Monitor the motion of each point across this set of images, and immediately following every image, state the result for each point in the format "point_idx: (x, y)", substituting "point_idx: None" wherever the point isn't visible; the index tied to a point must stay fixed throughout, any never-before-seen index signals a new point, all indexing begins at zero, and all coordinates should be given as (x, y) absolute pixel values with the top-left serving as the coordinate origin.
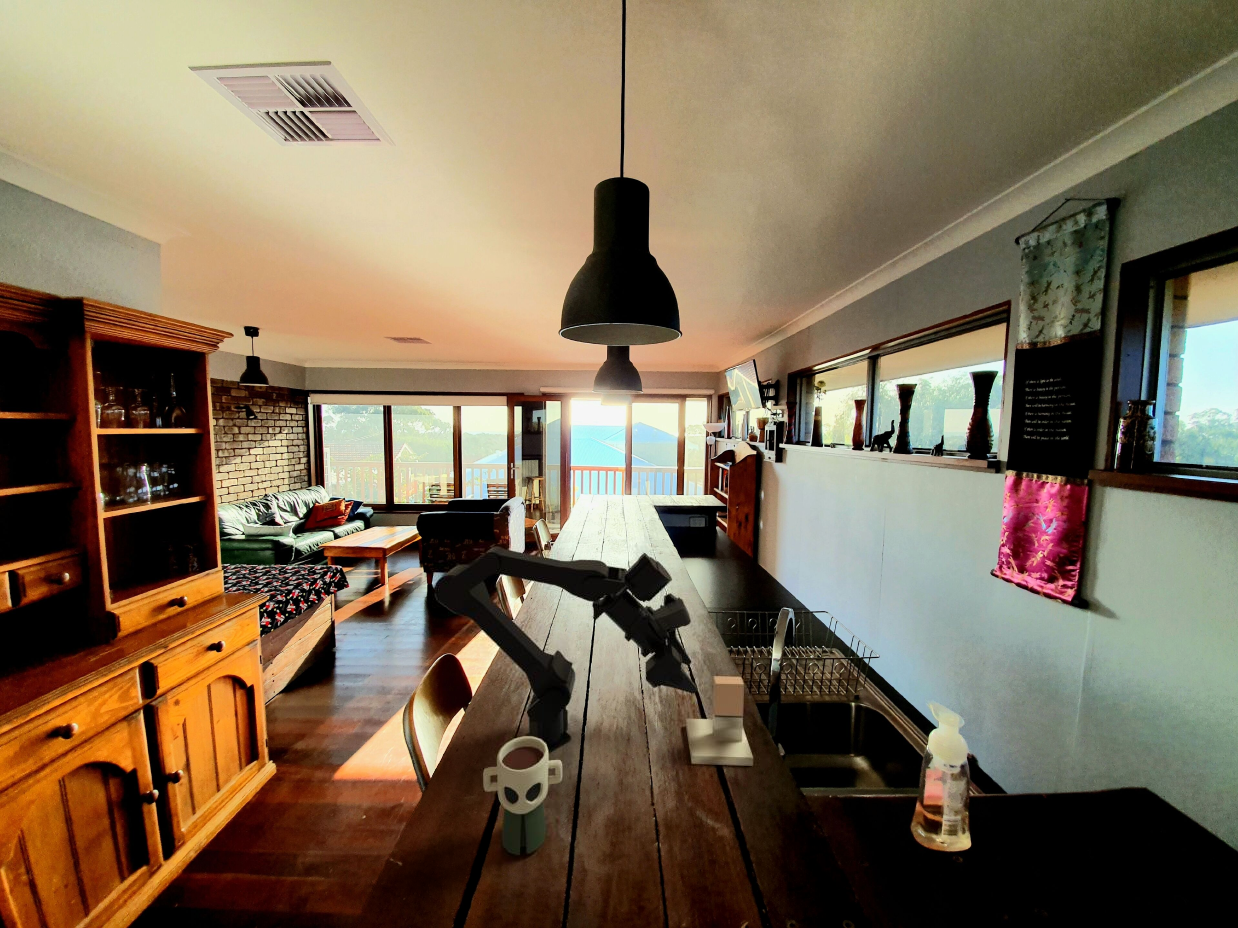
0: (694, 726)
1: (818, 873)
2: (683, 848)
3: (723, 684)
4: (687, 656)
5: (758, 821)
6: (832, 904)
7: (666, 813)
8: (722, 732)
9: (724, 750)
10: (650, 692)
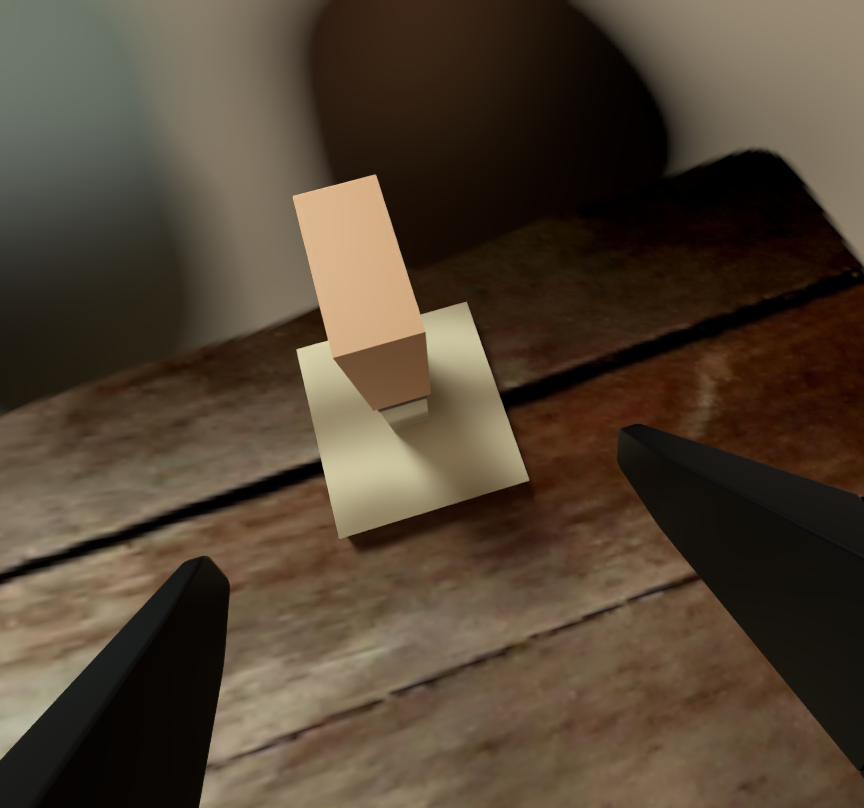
0: (377, 498)
1: (718, 185)
2: (816, 449)
3: (409, 288)
4: (173, 612)
5: (647, 292)
6: (770, 168)
7: None
8: None
9: (465, 383)
10: None
